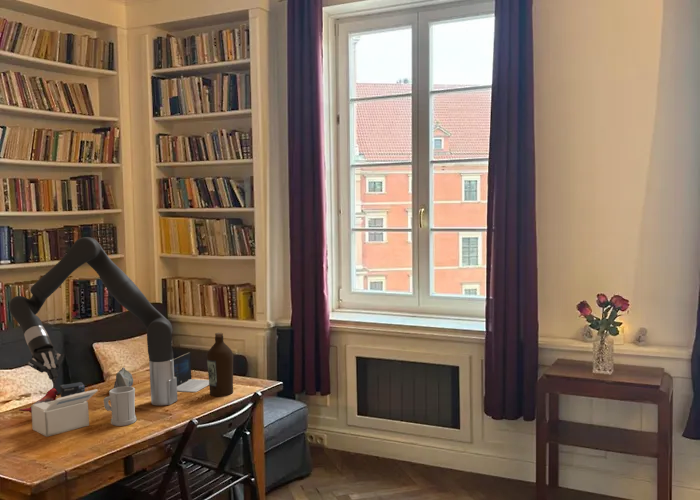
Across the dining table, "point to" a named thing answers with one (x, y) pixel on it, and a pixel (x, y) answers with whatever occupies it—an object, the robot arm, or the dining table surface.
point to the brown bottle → (220, 368)
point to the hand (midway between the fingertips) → (55, 378)
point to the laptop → (186, 375)
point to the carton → (59, 418)
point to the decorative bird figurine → (45, 398)
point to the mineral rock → (123, 379)
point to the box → (72, 389)
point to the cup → (121, 405)
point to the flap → (72, 399)
